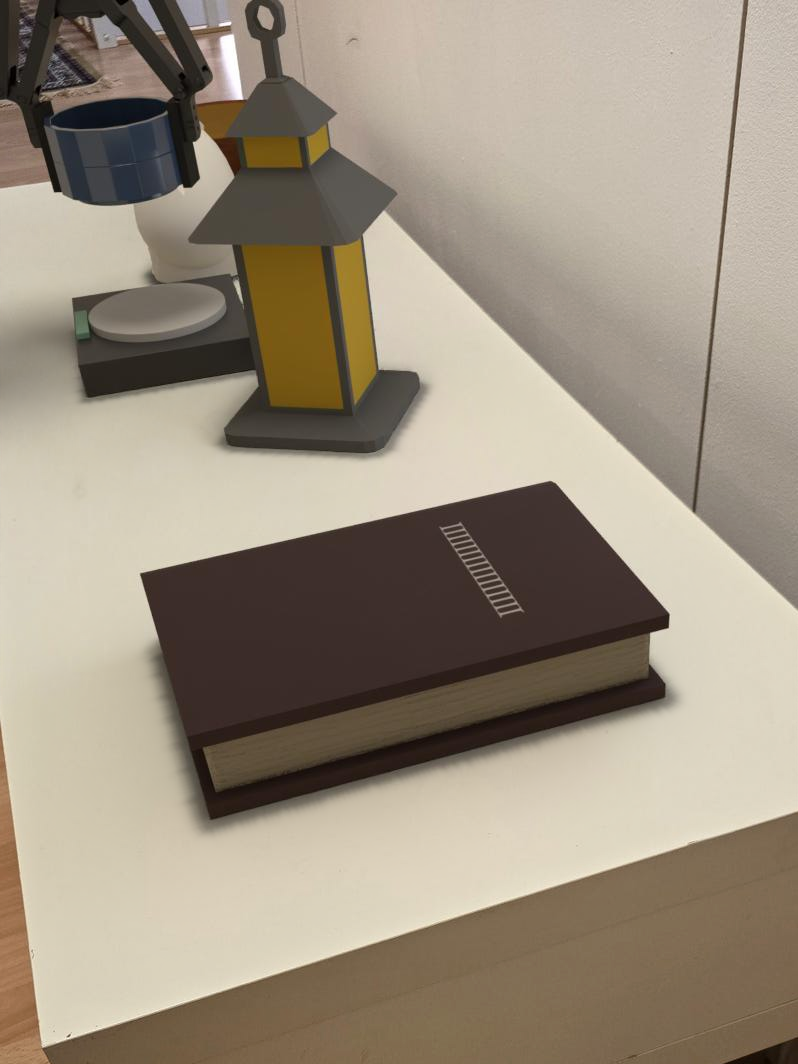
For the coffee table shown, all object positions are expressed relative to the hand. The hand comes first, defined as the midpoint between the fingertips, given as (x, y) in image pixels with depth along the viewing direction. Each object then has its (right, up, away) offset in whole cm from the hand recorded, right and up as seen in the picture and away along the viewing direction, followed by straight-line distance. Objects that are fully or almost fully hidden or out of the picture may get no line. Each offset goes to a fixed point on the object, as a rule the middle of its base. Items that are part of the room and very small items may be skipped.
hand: (127, 185), depth 108 cm
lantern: (+18, -21, -2) cm, 28 cm away
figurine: (+1, +4, +25) cm, 26 cm away
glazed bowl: (0, 0, 0) cm, 0 cm away
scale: (+1, -10, +11) cm, 15 cm away
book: (+26, -47, -30) cm, 62 cm away
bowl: (+1, +19, +41) cm, 46 cm away
